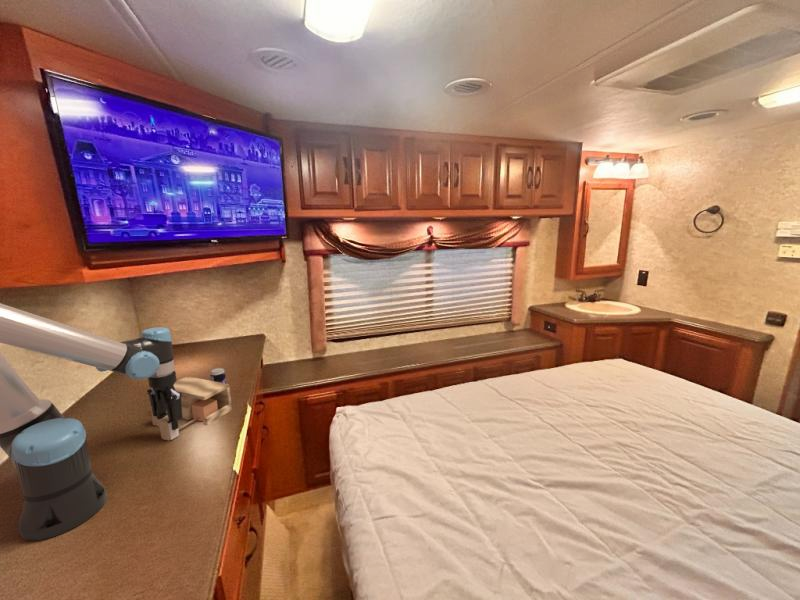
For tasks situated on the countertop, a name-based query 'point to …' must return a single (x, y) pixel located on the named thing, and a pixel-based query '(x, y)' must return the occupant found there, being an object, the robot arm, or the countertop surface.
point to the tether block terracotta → (199, 413)
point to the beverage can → (218, 375)
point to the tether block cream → (155, 419)
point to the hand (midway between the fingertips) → (170, 436)
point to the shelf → (203, 396)
